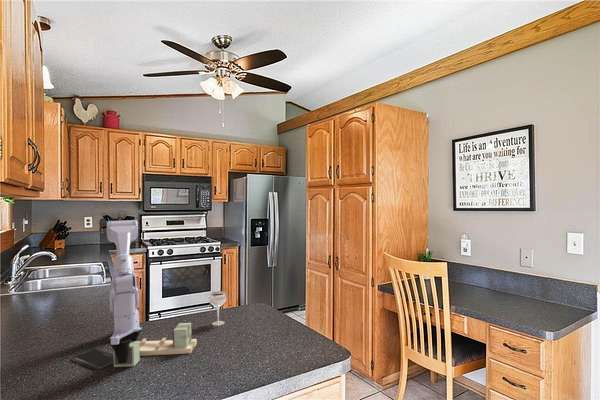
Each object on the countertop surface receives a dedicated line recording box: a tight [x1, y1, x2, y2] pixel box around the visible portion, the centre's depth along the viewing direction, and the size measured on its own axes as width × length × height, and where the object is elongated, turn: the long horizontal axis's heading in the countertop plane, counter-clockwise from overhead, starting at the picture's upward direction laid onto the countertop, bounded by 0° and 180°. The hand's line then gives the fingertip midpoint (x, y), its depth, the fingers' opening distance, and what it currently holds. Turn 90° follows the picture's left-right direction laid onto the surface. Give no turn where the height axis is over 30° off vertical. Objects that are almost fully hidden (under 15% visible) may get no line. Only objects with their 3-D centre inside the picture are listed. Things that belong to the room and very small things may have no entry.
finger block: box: [112, 340, 141, 368], centre depth 106 cm, size 5×6×6 cm
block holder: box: [139, 322, 198, 357], centre depth 116 cm, size 8×20×8 cm, turn 93°
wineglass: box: [208, 290, 227, 326], centre depth 139 cm, size 7×7×12 cm
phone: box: [71, 348, 114, 371], centre depth 109 cm, size 8×1×15 cm
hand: (126, 358), depth 106 cm, fingers closed on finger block, 5 cm apart
